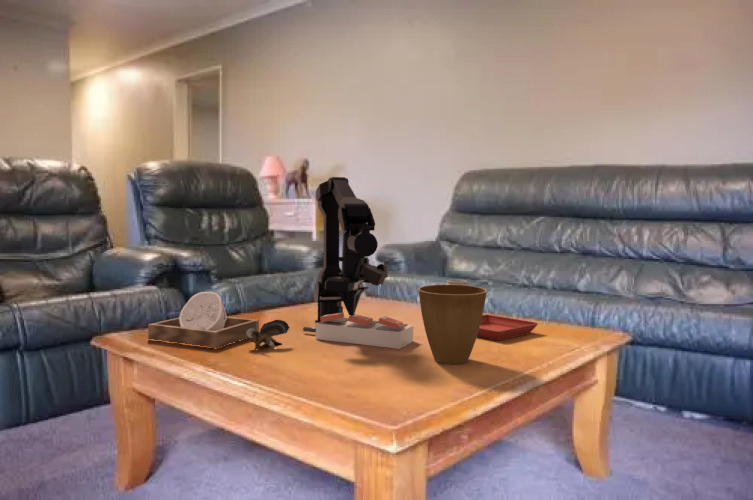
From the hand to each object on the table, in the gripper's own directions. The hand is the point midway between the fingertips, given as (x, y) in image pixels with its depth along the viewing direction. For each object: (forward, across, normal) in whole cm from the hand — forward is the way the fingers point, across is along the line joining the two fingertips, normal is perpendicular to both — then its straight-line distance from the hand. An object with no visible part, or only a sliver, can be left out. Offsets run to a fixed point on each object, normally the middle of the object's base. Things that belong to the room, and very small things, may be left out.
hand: (351, 315), depth 147 cm
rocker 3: (+1, 0, -11) cm, 11 cm away
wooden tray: (+7, -14, +34) cm, 38 cm away
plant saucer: (+6, +27, -30) cm, 41 cm away
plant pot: (+6, -7, -28) cm, 30 cm away
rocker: (+1, 0, -3) cm, 3 cm away
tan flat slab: (+6, +41, -16) cm, 45 cm away
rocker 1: (+1, 0, +5) cm, 5 cm away
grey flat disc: (+7, -14, +34) cm, 38 cm away
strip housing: (+6, +2, 0) cm, 7 cm away
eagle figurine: (+7, -15, +14) cm, 22 cm away
